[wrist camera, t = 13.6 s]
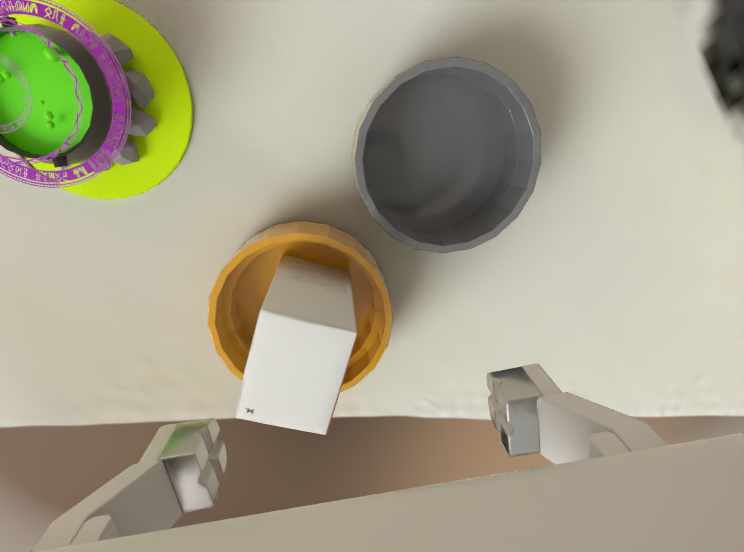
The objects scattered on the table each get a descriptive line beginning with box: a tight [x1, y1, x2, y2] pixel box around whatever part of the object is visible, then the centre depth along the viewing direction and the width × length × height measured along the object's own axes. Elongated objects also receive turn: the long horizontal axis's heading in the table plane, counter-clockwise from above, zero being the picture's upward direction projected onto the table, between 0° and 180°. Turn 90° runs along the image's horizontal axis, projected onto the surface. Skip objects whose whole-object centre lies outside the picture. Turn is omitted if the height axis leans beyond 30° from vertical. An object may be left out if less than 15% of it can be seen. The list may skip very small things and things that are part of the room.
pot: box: [352, 57, 541, 253], centre depth 35 cm, size 14×14×6 cm
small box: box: [235, 255, 358, 435], centre depth 35 cm, size 8×6×13 cm
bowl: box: [208, 221, 393, 392], centre depth 39 cm, size 15×15×5 cm
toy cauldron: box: [0, 0, 193, 199], centre depth 30 cm, size 15×15×11 cm
